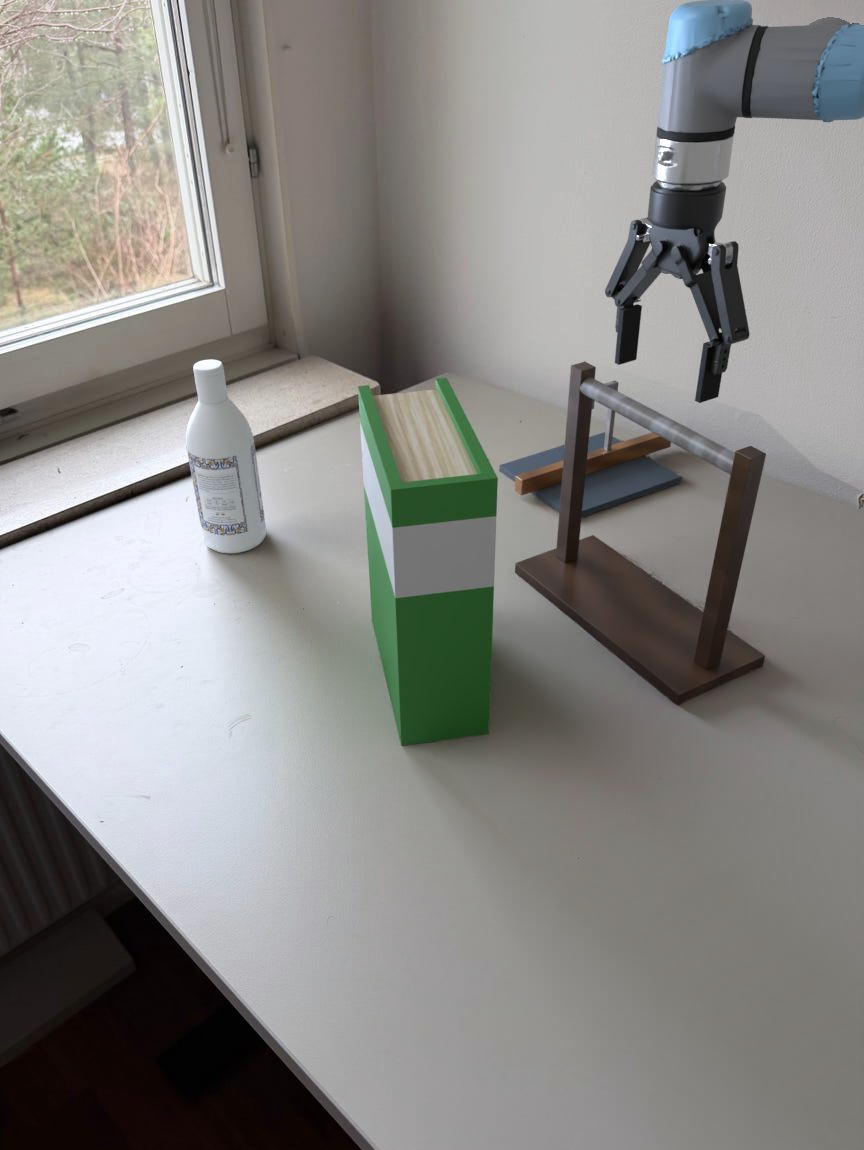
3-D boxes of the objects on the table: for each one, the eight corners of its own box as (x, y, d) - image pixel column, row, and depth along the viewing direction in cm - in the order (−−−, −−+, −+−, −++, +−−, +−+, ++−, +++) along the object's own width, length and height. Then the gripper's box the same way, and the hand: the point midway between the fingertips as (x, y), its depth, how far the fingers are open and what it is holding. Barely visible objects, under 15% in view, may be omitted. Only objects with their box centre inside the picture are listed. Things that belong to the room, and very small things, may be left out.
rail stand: (592, 544, 103) (613, 347, 90) (762, 666, 86) (819, 445, 73) (514, 572, 100) (524, 371, 86) (676, 705, 83) (720, 480, 69)
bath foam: (236, 515, 111) (209, 346, 99) (279, 534, 107) (257, 360, 95) (191, 542, 107) (157, 368, 95) (234, 562, 103) (206, 384, 91)
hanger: (662, 442, 119) (674, 361, 113) (670, 447, 118) (683, 365, 112) (514, 490, 111) (518, 406, 105) (521, 495, 110) (525, 410, 104)
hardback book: (371, 620, 94) (357, 386, 79) (446, 611, 95) (446, 377, 80) (401, 745, 80) (390, 489, 66) (488, 733, 81) (497, 478, 66)
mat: (604, 437, 123) (604, 431, 122) (681, 482, 113) (682, 476, 112) (498, 470, 117) (499, 464, 116) (570, 521, 107) (571, 515, 107)
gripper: (582, 167, 107) (571, 354, 120) (753, 211, 89) (718, 425, 102) (636, 156, 109) (619, 340, 122) (812, 197, 92) (770, 407, 105)
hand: (664, 379), depth 112 cm, fingers open, 13 cm apart
